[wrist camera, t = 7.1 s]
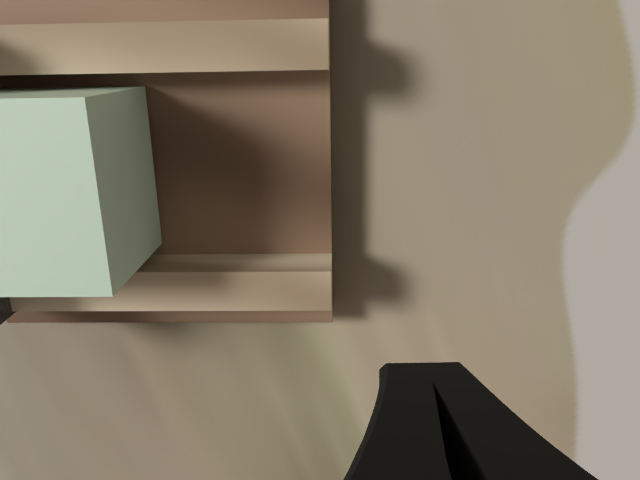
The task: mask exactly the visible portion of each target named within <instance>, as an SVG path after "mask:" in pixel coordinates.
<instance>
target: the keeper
mask: <svg viewBox="0 0 640 480" xmlns="http://www.w3.org/2000/svg"><path fill="white" fill-rule="evenodd" d="M161 244H162V238H161V228H160V219H159V210H158V201H157V192H156V182H155V173H154V164H153V155H152V146H151V136H150V127H149V118H148V109H147V100H146V90H145V86H136V87H73V88H11V89H0V297H113V296H114V295H115V294H116V293H117V292H118V291H119V289H120V288H121V287H122V286H123V285H124V284H125V283H126V282H127V281H128V280H129V279H130V278H131V276H132V275H133V274H134V273H135V272H136V271H137V270H138V269H139V268H140V267H141V266H142V264H143V263H144V262H145V261H146V260H147V259H148V258H149V257H150V256H151V255H152V254H153V253H154V251H155V250H156V249H157V248H158V247H159V246H160V245H161Z"/></svg>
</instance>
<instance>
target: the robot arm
mask: <svg viewBox="0 0 640 480" xmlns="http://www.w3.org/2000/svg"><path fill="white" fill-rule="evenodd" d="M344 480H598V479H596V478H595V477H594V476H592V475H591V474H589V473H588V472H587V471H585V470H584V469H583V468H581V467H580V466H579V465H577V464H576V463H575V462H574V461H572V460H571V459H570V458H568V457H567V456H566V455H564V454H563V453H562V452H561V451H559V450H558V449H557V448H555V447H554V446H553V445H551V444H550V443H549V442H548V441H547V440H545V439H544V438H543V437H542V436H540V435H539V434H538V433H537V432H536V431H534V430H533V429H532V428H531V427H530V426H528V425H527V424H526V423H525V422H524V421H523V420H522V419H520V418H519V417H518V416H517V415H516V414H515V413H513V412H512V411H511V410H510V409H509V408H508V407H507V406H506V405H505V404H503V403H502V402H501V401H500V400H499V399H498V398H497V397H496V396H495V395H494V394H493V393H492V392H490V391H489V390H488V389H487V388H486V387H485V386H484V385H483V384H482V383H481V382H480V381H479V380H478V379H477V378H476V377H475V376H473V375H472V374H471V373H470V372H469V371H468V370H467V369H466V368H465V367H464V366H463V365H462V364H461V363H459V362H445V363H386V364H385V365H384V366H383V367H382V368H381V369H380V370H379V391H378V396H377V400H376V403H375V407H374V410H373V413H372V416H371V419H370V422H369V424H368V427H367V430H366V433H365V435H364V438H363V440H362V442H361V445H360V447H359V449H358V451H357V453H356V455H355V458H354V460H353V462H352V464H351V466H350V468H349V470H348V472H347V474H346V476H345V478H344Z"/></svg>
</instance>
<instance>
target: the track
mask: <svg viewBox="0 0 640 480" xmlns="http://www.w3.org/2000/svg"><path fill="white" fill-rule="evenodd" d="M136 86H145V90H146V100H147V109H148V118H149V127H150V136H151V146H152V155H153V164H154V173H155V182H156V192H157V201H158V210H159V219H160V228H161V238H162V244H161V245H160V246H159V247H158V248H157V249H156V250H155V251H154V253H153V254H152V255H151V256H150V257H149V258H148V259H147V260H146V261H145V262H144V263H143V264H142V266H141V267H140V268H139V269H138V270H137V271H136V272H135V273H134V274H133V275H132V276H131V278H130V279H129V280H128V281H127V282H126V283H125V284H124V285H123V286H122V287H121V288H120V289H119V291H118V292H117V293H116V294H115V295H114V296H113V297H0V325H1V324H2V323H3V322H4V321H6V320H7V323H20V322H333V269H332V178H331V87H330V0H0V89H11V88H73V87H136Z"/></svg>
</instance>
